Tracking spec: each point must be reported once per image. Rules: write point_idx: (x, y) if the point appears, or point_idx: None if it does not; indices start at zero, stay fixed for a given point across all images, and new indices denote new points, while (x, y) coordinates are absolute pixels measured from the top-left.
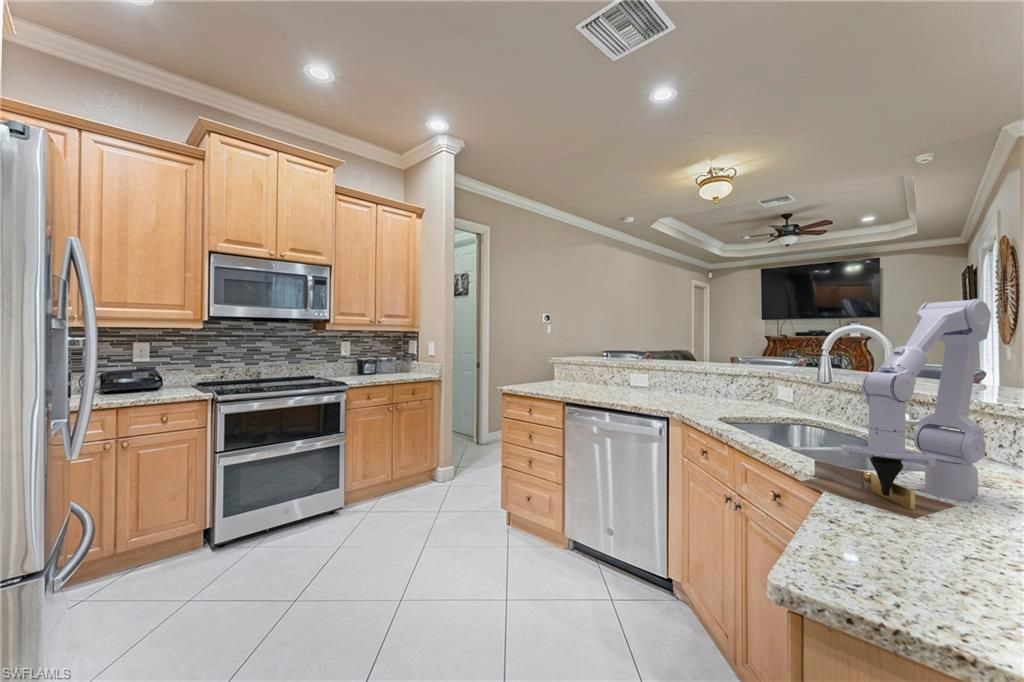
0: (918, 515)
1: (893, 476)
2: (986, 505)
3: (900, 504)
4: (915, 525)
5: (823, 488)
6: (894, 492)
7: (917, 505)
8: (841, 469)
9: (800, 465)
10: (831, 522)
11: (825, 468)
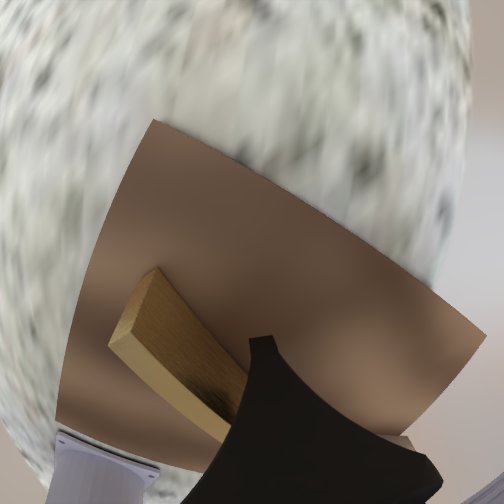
0: (129, 199)
1: (245, 436)
2: (47, 456)
3: (196, 319)
4: None
5: (440, 338)
6: (221, 378)
7: None
8: None
9: None
10: (436, 3)
11: None
